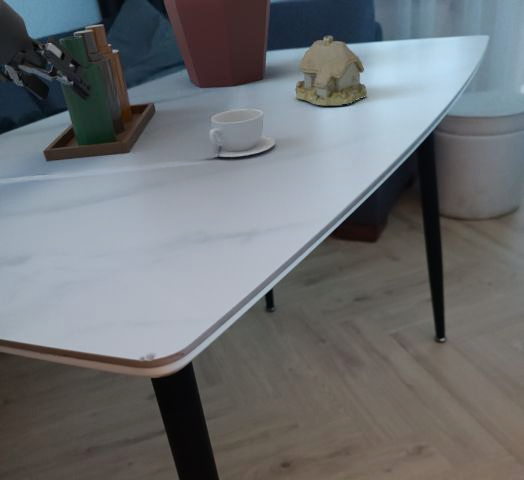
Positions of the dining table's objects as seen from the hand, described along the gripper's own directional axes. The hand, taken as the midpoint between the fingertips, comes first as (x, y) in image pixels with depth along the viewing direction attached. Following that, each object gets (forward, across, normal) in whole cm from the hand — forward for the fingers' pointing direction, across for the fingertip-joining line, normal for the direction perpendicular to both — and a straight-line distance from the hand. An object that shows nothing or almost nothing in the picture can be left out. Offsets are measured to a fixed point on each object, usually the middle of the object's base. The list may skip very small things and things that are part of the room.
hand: (67, 94), depth 87 cm
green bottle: (+8, 0, +3) cm, 9 cm away
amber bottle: (+17, +6, -6) cm, 19 cm away
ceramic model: (+32, -26, -20) cm, 46 cm away
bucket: (+44, +5, -31) cm, 54 cm away
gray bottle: (+13, +3, -1) cm, 13 cm away
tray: (+13, +3, 0) cm, 13 cm away
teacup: (+11, -24, +2) cm, 27 cm away
